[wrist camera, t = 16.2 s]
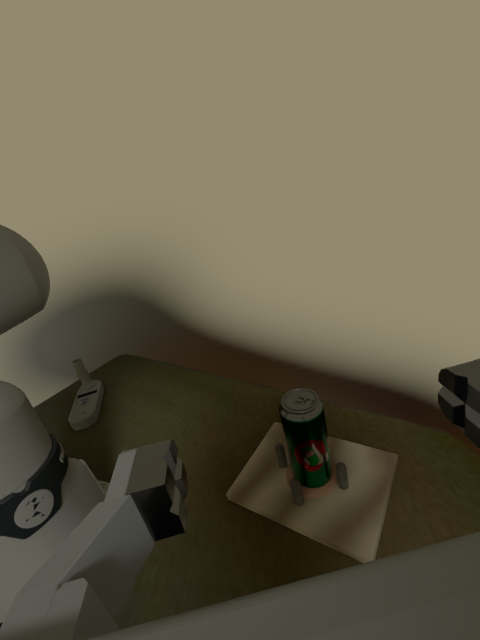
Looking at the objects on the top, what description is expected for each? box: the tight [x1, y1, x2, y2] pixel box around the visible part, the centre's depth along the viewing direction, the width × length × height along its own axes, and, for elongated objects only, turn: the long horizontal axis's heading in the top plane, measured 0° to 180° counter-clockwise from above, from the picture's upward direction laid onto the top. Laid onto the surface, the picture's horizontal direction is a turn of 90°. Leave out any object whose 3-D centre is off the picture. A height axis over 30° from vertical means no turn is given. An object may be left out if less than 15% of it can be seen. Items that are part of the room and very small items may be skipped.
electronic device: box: [68, 359, 104, 431], centre depth 68 cm, size 5×10×15 cm
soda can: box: [279, 388, 333, 489], centre depth 39 cm, size 5×5×12 cm
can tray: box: [226, 422, 398, 563], centre depth 41 cm, size 18×14×5 cm
